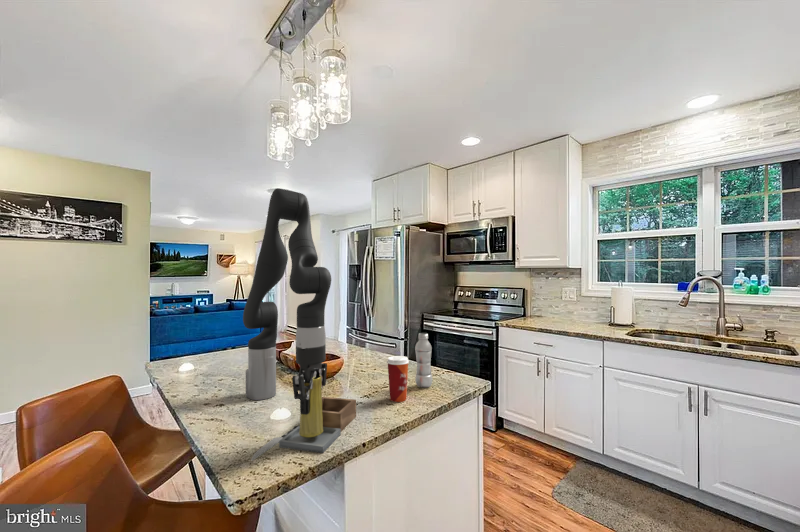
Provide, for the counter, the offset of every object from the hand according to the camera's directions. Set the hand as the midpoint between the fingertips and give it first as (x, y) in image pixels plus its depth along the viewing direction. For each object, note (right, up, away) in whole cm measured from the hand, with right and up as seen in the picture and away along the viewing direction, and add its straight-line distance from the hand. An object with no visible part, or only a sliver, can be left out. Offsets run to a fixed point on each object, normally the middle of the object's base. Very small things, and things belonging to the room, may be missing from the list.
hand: (310, 409), depth 89 cm
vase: (0, -6, 0) cm, 6 cm away
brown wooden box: (+3, -8, +11) cm, 14 cm away
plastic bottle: (+32, -9, +42) cm, 54 cm away
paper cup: (+22, -9, +29) cm, 38 cm away
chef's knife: (-10, -9, -1) cm, 13 cm away
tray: (0, -8, 0) cm, 8 cm away
